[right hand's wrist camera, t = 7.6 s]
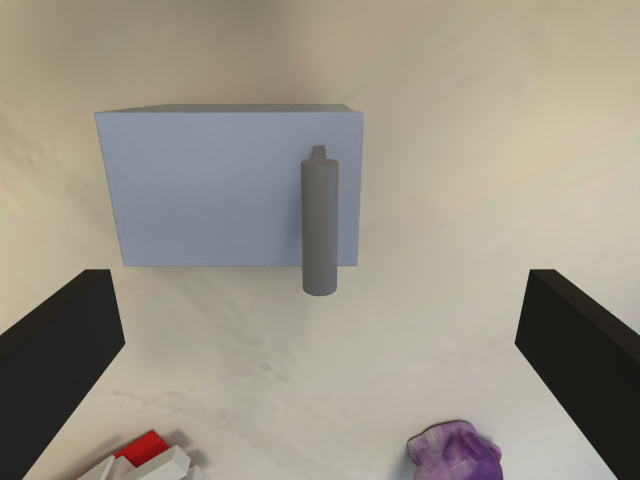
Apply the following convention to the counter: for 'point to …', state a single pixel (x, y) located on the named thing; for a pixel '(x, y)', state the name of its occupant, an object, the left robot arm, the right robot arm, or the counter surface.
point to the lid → (236, 189)
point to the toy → (146, 463)
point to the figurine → (454, 454)
